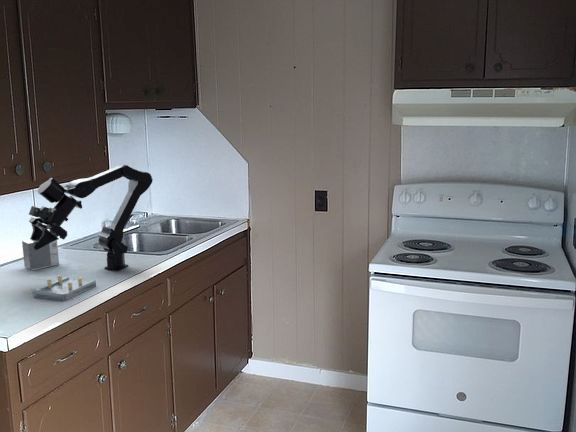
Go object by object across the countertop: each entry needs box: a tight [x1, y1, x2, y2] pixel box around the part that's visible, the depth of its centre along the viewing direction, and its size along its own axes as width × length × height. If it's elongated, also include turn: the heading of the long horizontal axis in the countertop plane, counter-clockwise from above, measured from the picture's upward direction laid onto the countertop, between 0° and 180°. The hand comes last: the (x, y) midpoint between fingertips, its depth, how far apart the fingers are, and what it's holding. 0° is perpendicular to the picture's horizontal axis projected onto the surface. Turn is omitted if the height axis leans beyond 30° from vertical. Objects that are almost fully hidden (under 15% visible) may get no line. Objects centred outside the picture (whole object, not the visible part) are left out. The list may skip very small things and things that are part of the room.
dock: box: [32, 274, 97, 302], centre depth 193 cm, size 16×12×4 cm
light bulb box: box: [22, 238, 60, 271], centre depth 221 cm, size 11×7×11 cm, turn 141°
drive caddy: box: [21, 238, 51, 271], centre depth 198 cm, size 7×5×9 cm
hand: (31, 247), depth 196 cm, fingers closed on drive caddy, 5 cm apart
